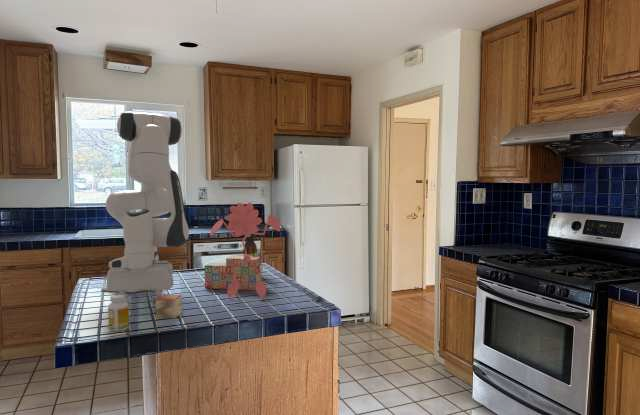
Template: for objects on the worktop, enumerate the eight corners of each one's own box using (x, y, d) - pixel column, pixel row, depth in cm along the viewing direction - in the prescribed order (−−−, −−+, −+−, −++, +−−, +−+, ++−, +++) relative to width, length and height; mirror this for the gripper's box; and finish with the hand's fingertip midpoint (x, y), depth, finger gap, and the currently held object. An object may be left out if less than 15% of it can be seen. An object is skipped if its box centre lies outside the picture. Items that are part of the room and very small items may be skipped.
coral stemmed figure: (215, 294, 168) (213, 201, 165) (283, 295, 166) (282, 201, 163) (202, 306, 153) (199, 204, 150) (276, 308, 151) (275, 204, 148)
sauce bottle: (254, 273, 204) (254, 230, 202) (260, 276, 199) (260, 231, 197) (241, 275, 200) (240, 231, 199) (247, 277, 195) (246, 232, 194)
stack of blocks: (204, 288, 178) (203, 257, 177) (210, 284, 184) (210, 255, 183) (256, 290, 174) (255, 259, 173) (261, 286, 180) (260, 256, 179)
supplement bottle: (131, 325, 133) (130, 293, 133) (126, 331, 128) (125, 297, 127) (112, 326, 133) (111, 293, 132) (106, 332, 127) (105, 298, 127)
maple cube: (156, 318, 140) (155, 299, 140) (163, 312, 146) (162, 294, 146) (175, 318, 140) (174, 299, 139) (181, 312, 146) (181, 294, 145)
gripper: (175, 258, 145) (177, 300, 146) (112, 259, 145) (114, 301, 146) (168, 261, 139) (170, 305, 140) (103, 262, 139) (105, 306, 140)
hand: (141, 303), depth 143 cm, fingers open, 8 cm apart
